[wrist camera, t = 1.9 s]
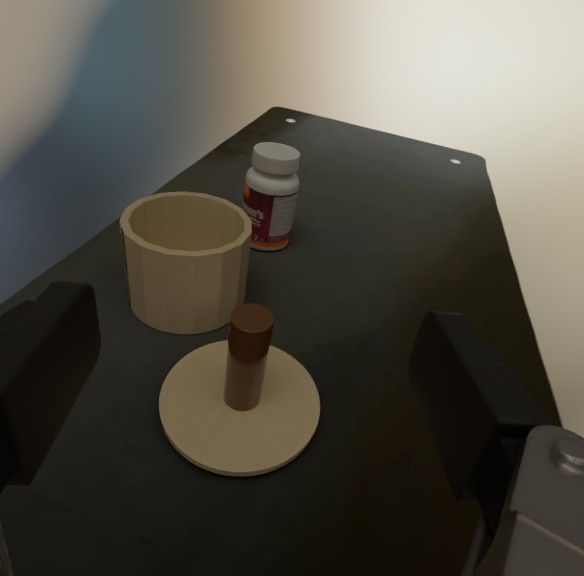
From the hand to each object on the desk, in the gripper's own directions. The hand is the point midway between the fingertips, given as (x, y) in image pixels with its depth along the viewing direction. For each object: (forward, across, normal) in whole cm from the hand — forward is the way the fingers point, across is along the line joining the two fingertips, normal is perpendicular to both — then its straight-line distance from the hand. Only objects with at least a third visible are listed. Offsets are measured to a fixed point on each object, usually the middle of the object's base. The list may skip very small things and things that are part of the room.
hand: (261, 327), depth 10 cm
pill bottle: (+40, -1, +16) cm, 43 cm away
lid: (+15, 0, +18) cm, 23 cm away
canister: (+28, +6, +17) cm, 33 cm away
